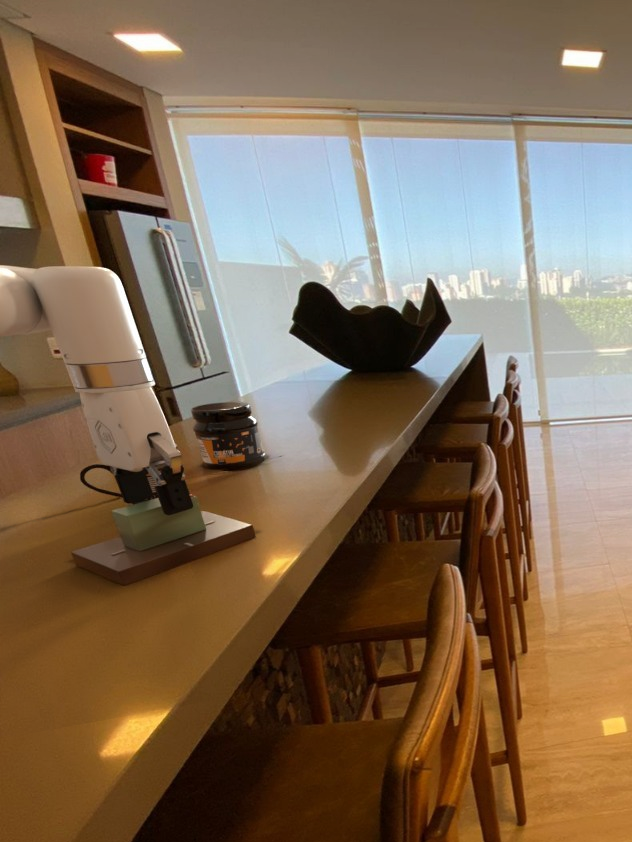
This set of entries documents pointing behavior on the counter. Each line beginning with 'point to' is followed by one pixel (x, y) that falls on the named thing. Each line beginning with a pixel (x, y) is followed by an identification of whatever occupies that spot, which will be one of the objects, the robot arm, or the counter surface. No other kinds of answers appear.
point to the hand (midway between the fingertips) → (159, 505)
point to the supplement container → (228, 436)
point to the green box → (155, 524)
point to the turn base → (161, 551)
